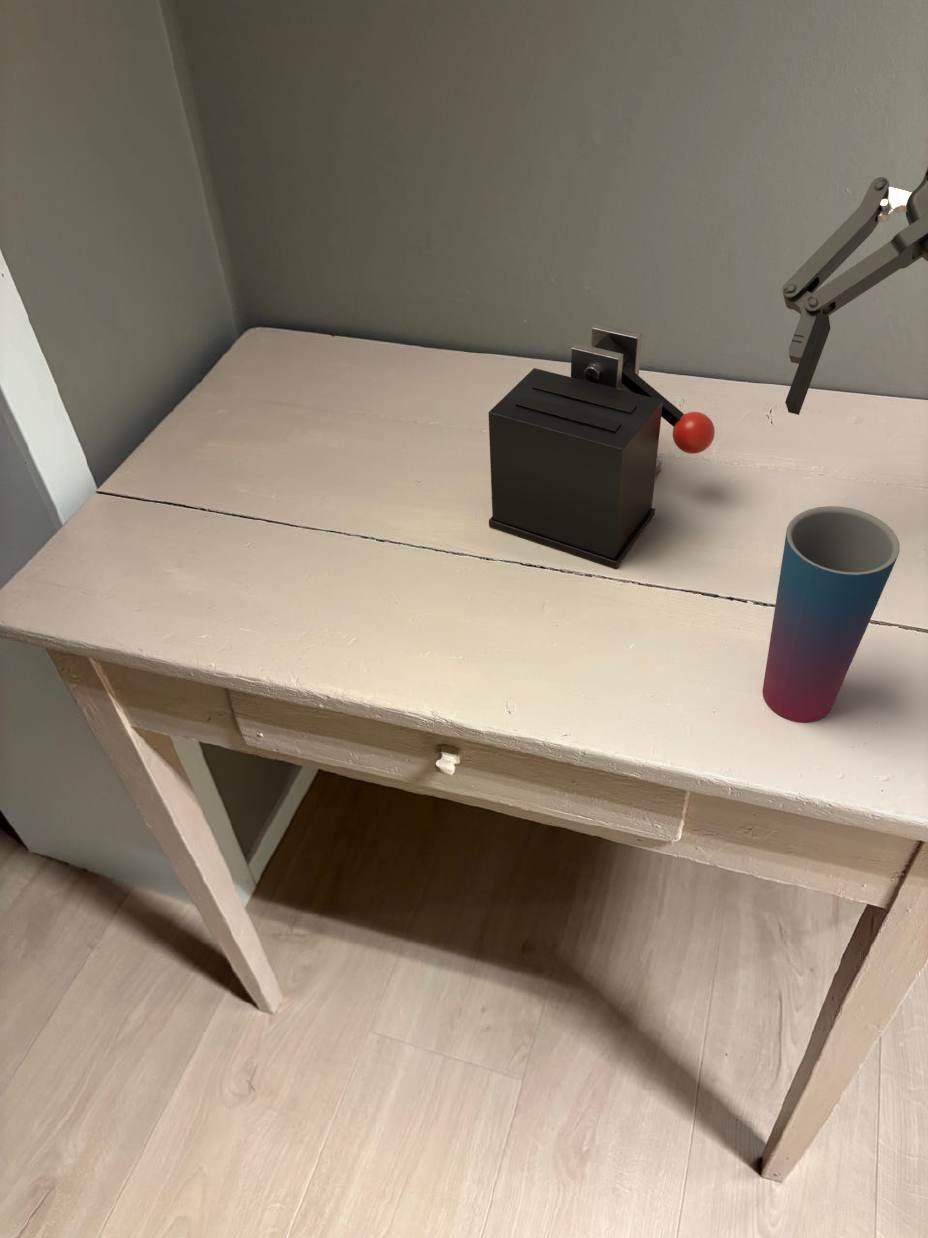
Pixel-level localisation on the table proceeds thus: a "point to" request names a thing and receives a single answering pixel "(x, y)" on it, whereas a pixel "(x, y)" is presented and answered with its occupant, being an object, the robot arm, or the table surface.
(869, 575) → the cup
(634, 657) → the table surface
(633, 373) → the lever
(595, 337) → the bracket
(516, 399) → the toaster
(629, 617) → the table surface
